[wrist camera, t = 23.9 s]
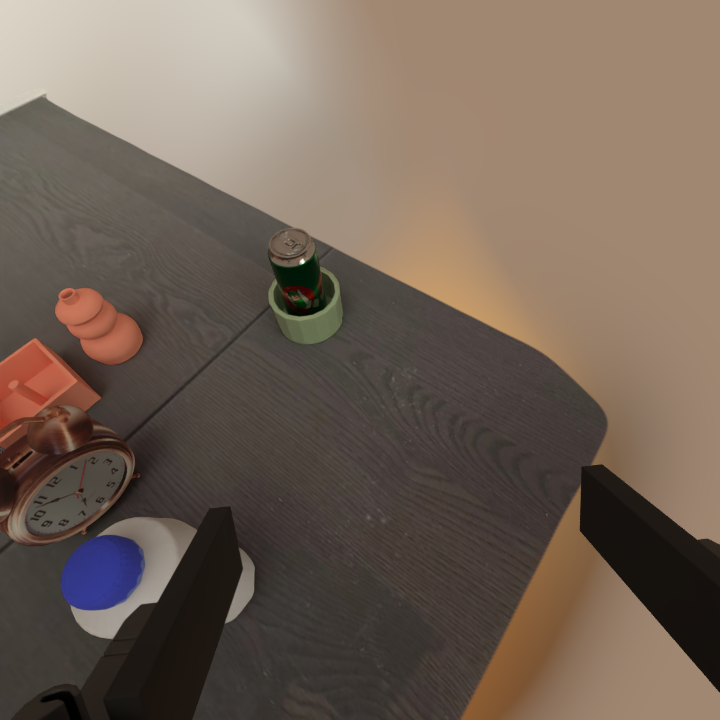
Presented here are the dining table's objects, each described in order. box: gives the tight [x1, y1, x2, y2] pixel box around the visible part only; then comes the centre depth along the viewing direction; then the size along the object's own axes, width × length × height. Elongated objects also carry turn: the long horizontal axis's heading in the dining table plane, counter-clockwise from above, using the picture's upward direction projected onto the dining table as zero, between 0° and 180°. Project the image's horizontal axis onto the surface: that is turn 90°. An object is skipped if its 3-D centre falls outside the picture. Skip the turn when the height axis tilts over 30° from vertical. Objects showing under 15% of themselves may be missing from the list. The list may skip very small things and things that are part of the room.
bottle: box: [61, 517, 255, 639], centre depth 28 cm, size 7×7×20 cm
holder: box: [269, 267, 343, 344], centre depth 49 cm, size 8×8×5 cm
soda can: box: [268, 228, 327, 317], centre depth 46 cm, size 5×5×12 cm
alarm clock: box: [0, 405, 140, 546], centre depth 35 cm, size 11×5×15 cm, turn 146°
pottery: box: [0, 288, 143, 449], centre depth 44 cm, size 18×10×10 cm, turn 141°
